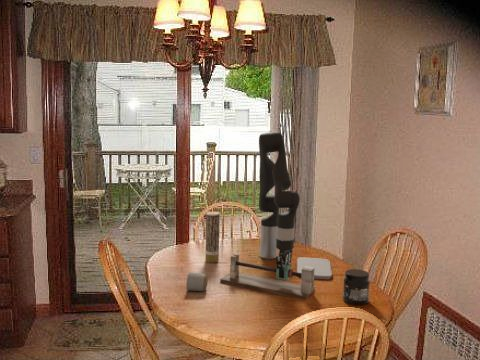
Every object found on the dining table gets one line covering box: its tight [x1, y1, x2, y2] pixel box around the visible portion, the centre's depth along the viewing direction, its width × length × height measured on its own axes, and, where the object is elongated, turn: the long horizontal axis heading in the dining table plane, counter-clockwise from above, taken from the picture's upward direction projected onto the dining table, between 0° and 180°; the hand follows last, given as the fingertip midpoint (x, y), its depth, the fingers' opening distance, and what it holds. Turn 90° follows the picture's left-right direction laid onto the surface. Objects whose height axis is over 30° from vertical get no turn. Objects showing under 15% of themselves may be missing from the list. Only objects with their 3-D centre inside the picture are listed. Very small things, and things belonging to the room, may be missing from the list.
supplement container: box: [342, 268, 371, 306], centre depth 188 cm, size 10×10×12 cm
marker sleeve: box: [275, 263, 292, 281], centre depth 197 cm, size 5×5×6 cm
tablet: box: [296, 256, 333, 280], centre depth 225 cm, size 16×26×2 cm, turn 173°
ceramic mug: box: [185, 271, 209, 292], centre depth 196 cm, size 11×8×8 cm
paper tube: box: [204, 211, 221, 264], centre depth 232 cm, size 7×7×25 cm
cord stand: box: [219, 253, 316, 301], centre depth 201 cm, size 12×40×12 cm, turn 64°
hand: (283, 275), depth 197 cm, fingers closed on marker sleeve, 4 cm apart
